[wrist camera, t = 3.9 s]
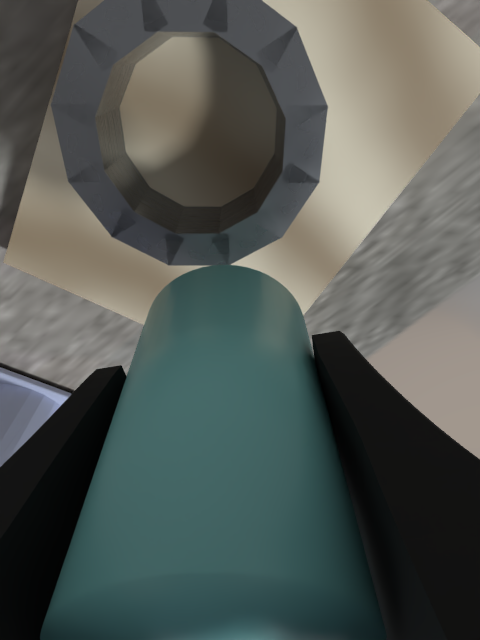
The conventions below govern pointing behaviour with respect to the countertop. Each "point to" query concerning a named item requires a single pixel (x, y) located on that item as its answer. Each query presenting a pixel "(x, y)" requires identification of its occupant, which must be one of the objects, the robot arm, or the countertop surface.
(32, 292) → the countertop surface
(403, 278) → the countertop surface
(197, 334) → the teal plug
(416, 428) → the robot arm
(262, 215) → the grey faceted ring
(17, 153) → the countertop surface
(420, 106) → the pale board
